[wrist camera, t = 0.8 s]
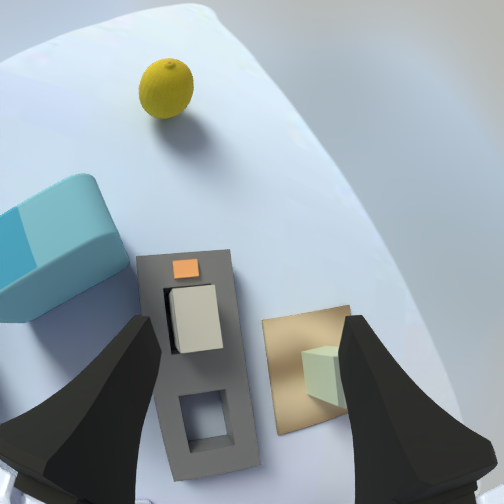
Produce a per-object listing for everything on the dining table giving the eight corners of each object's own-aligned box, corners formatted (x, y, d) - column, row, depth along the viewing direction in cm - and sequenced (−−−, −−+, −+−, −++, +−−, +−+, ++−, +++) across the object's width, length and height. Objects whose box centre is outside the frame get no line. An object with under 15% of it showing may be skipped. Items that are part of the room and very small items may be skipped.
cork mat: (358, 407, 31) (360, 408, 31) (277, 433, 28) (278, 435, 27) (347, 305, 33) (349, 304, 33) (261, 320, 30) (263, 320, 29)
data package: (111, 223, 27) (90, 164, 16) (131, 266, 27) (117, 229, 16) (9, 280, 23) (-59, 255, 12) (27, 324, 23) (-41, 322, 12)
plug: (331, 386, 30) (372, 397, 24) (306, 393, 29) (344, 408, 23) (326, 345, 31) (368, 349, 24) (301, 351, 30) (339, 357, 23)
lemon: (148, 89, 31) (153, 39, 24) (193, 100, 33) (206, 52, 25) (131, 125, 30) (130, 76, 22) (179, 137, 31) (189, 89, 24)
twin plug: (206, 341, 28) (223, 347, 21) (174, 345, 27) (180, 353, 20) (200, 293, 29) (214, 284, 22) (168, 296, 28) (172, 288, 21)
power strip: (251, 453, 27) (262, 467, 23) (171, 467, 24) (174, 484, 21) (222, 256, 30) (231, 247, 27) (137, 262, 27) (135, 255, 24)
